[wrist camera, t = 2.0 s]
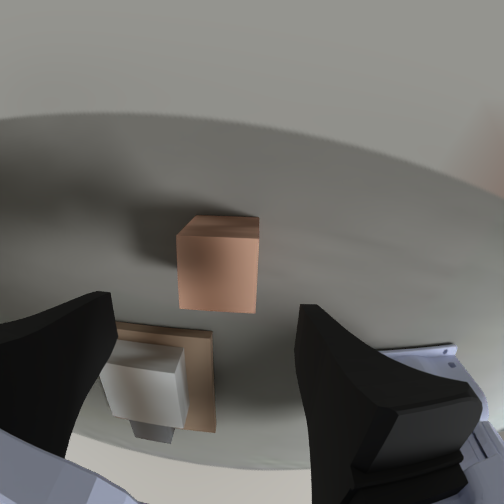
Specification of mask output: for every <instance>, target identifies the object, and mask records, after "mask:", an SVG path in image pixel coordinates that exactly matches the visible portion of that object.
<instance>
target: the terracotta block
mask: <svg viewBox="0 0 504 504" xmlns="http://www.w3.org/2000/svg"><path fill="white" fill-rule="evenodd" d="M176 246H177V271H178V289H179V305H180V309H191V310H205V311H220V312H237V313H255V310H256V291H257V272H258V252H259V217H235V216H208V215H196V216H195V217H194V218H193V219H192V220H191V221H190V222H189V223H188V224H187V225H186V226H185V227H184V228H183V229H182V230H181V231H180V232H179V233H178V234H177V235H176Z"/></svg>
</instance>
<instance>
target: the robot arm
mask: <svg viewBox="0 0 504 504" xmlns="http://www.w3.org/2000/svg"><path fill="white" fill-rule="evenodd" d="M117 339H118V332H117V327H116V322H115V317H114V311H113V305H112V299H111V293H110V292H102V291H96V292H92V293H88V294H86V295H83V296H80V297H78V298H75V299H73V300H70V301H68V302H66V303H63V304H61V305H59V306H56V307H54V308H51V309H48V310H46V311H43V312H41V313H38V314H35V315H33V316H30V317H26V318H23V319H20V320H16V321H12V322H8V323H3V324H0V504H147V503H143V502H139V501H137V500H136V499H134V498H133V497H132V496H131V495H130V494H129V493H128V492H127V491H126V490H125V489H123V488H121V487H120V486H118V485H116V484H114V483H112V482H111V481H109V480H108V479H106V478H104V477H103V476H101V475H99V474H98V473H95V472H93V471H91V470H89V469H86V468H84V467H82V466H80V465H78V464H75V463H73V462H71V461H69V460H66V459H65V455H66V450H67V447H68V443H69V439H70V436H71V433H72V430H73V427H74V424H75V422H76V419H77V416H78V414H79V411H80V409H81V407H82V404H83V402H84V400H85V398H86V396H87V394H88V393H89V391H90V389H91V388H92V386H93V384H94V383H95V381H96V379H97V378H98V376H99V374H100V373H101V371H102V369H103V368H104V366H105V364H106V363H107V361H108V359H109V358H110V356H111V353H112V351H113V349H114V347H115V344H116V341H117ZM444 350H445V351H444ZM456 351H457V346H456V345H455V344H451V345H442V346H433V347H424V348H413V349H401V350H387V351H377V350H375V349H373V348H372V347H370V346H368V345H367V344H365V343H364V342H362V341H361V340H360V339H358V338H357V337H355V336H354V335H353V334H351V333H350V332H349V331H348V330H346V329H345V328H344V327H343V326H341V325H340V324H339V323H338V322H337V321H336V320H334V319H333V318H332V317H331V316H330V315H329V314H328V313H326V312H325V311H324V310H323V309H322V308H321V307H319V306H318V305H317V304H300V310H299V318H298V326H297V333H296V341H295V348H294V353H295V366H296V374H297V379H298V384H299V388H300V393H301V397H302V402H303V406H304V411H305V415H306V420H307V426H308V435H309V447H310V462H311V482H312V504H504V441H503V440H502V438H501V437H500V435H499V434H498V432H497V431H496V430H495V428H494V427H493V426H492V424H491V423H490V422H489V421H488V417H489V410H488V403H487V400H486V397H485V395H484V393H483V391H482V390H481V388H480V387H479V386H478V384H477V383H476V382H475V381H474V379H473V378H472V377H471V375H470V374H469V373H468V371H467V370H466V369H465V368H464V366H463V365H462V364H461V363H460V361H459V360H458V359H457V358H456V356H455V354H456Z"/></svg>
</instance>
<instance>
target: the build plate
mask: <svg viewBox="0 0 504 504" xmlns="http://www.w3.org/2000/svg"><path fill="white" fill-rule="evenodd" d="M115 322H116V321H115ZM116 327H117V332H118V339H117V341H116V344H115V347H114V349H113V351H112V353H111V356H110V358H109V359H108V361H107V363H106V364H105V366H104V368H103V369H102V371H101V373H100V374H99V376H100V379H101V382H102V385H103V388H104V391H105V394H106V397H107V400H108V403H109V405H110V408H111V411H112V413H113V416H115V417H118V418H122V419H127V420H129V421H130V424H131V426H132V429H133V432H134V435H135V437H137V438H141V439H146V440H152V441H157V442H163V443H169V444H171V441H172V437H173V434H174V430H175V428H178V429H185V430H193V431H202V432H212V433H215V431H216V411H215V391H214V368H213V338H212V331H201V330H189V329H178V328H167V327H158V326H148V325H140V324H131V323H124V322H116Z"/></svg>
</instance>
